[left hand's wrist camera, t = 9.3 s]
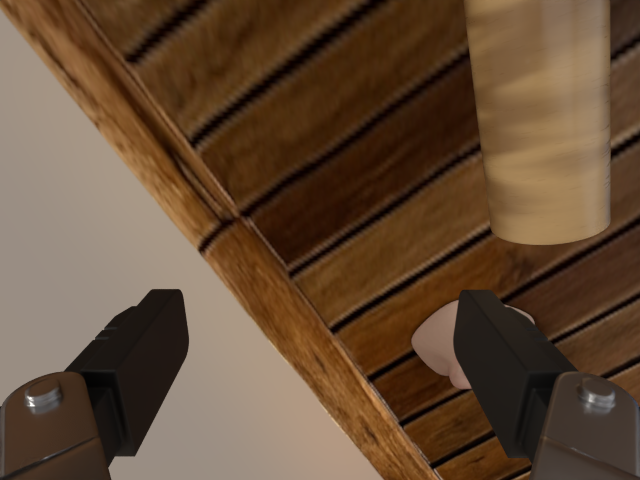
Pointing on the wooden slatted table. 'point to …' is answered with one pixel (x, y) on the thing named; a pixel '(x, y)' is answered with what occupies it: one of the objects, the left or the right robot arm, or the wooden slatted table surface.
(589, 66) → the rod
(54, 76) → the wooden slatted table surface
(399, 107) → the wooden slatted table surface
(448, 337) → the anatomical model
